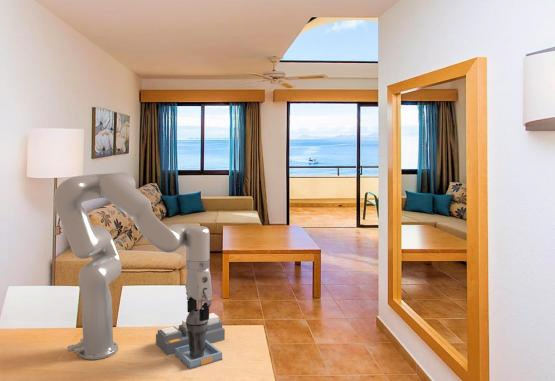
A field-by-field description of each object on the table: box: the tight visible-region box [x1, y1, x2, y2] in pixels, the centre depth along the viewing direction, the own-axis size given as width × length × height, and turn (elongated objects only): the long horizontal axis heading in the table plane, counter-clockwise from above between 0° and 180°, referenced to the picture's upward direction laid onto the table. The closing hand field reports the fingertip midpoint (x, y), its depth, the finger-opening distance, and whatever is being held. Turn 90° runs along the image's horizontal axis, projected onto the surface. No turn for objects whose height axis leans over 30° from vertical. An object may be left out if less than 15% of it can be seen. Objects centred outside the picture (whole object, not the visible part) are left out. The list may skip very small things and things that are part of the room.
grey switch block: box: [155, 312, 226, 356], centre depth 167 cm, size 22×10×8 cm, turn 126°
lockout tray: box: [174, 340, 223, 370], centre depth 155 cm, size 12×12×2 cm
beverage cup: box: [186, 301, 208, 358], centre depth 155 cm, size 7×7×20 cm
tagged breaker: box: [160, 326, 178, 336], centre depth 162 cm, size 4×4×2 cm
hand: (198, 315), depth 154 cm, fingers open, 8 cm apart
